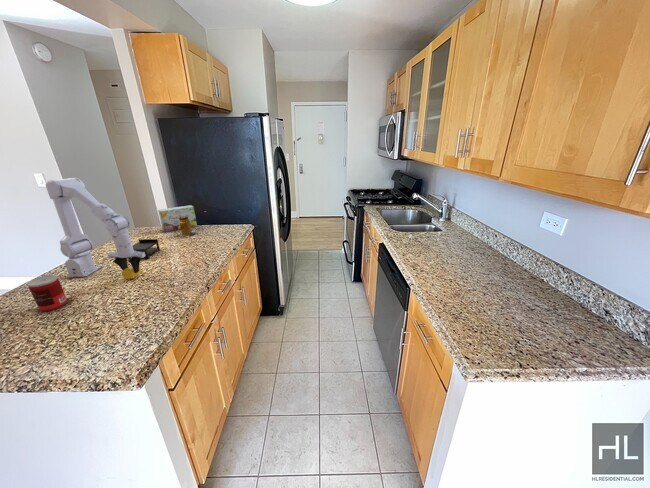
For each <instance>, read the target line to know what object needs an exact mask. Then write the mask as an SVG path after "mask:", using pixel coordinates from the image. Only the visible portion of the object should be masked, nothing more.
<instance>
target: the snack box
mask: <svg viewBox="0 0 650 488" xmlns="http://www.w3.org/2000/svg"><path fill="white" fill-rule="evenodd" d="M157 212H158V216H159V221H160V225H161V230H162V231H163V232H164V233H168V232H173V231H178V230H179V231H180V230H181V228H180V223H179V222H180V221H179V218H180V217H184V216H187V217H188V219H189V221H190V225H191V228H194V227H198V224H197V218H196V212H195V207H194V205H192V204H191V205H184V206H176V207H169V208H161V209H160V208H159V209H157Z"/></svg>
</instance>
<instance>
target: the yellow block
mask: <svg viewBox="0 0 650 488" xmlns="http://www.w3.org/2000/svg"><path fill="white" fill-rule="evenodd" d="M141 273H142V270H141V266H140V265H139V271H138V272H137V273H135V272H134V270H133V267H132V265H128V268H126V269H125V270H121V274H122V277H123V279H124V280H125V279H135V277H137V276H138V275H140V274H141Z"/></svg>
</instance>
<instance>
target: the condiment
mask: <svg viewBox="0 0 650 488" xmlns="http://www.w3.org/2000/svg"><path fill="white" fill-rule="evenodd" d="M179 221H180V222H179V223H180V228H181V229H180V232H181V234H179V236H180V237H186V238H188V237H190V236H193V235H196V234H197V232H194V231H193V230H192V227H191V225H190V221H189V219H188V217H187V216H184V217H180V218H179Z"/></svg>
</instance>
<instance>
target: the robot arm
mask: <svg viewBox="0 0 650 488" xmlns="http://www.w3.org/2000/svg"><path fill="white" fill-rule="evenodd" d="M45 188H46V192H47V194H48V196H49V199H50V200H52V201H53V204H54V207H55V210H56V213H57V215H58V219H59V221H60V224H61V227H62V230H63V232H64V236H63V237H62V238H61V240H59V245H60V252H61V254H62V255H63V256H64V257H67V258H68V259H67V260H65V263H64V266H65V268H66V271H67V273H68V275H67V278H85V277H88V276H90V275H91V274H94V272H96V271H97V270H100V269H101V268H102V266H96V264H95V262H94V259H93V257H92V254H91V253H92V251H93V248H94V244H93V241H92V240H91V239H90V236H89V235H87V234H84V233H82V231H81V228H80V225H79V221H78V219H77V216H76V213H75V209H74V206H73V203H72V202H71V200H72V199H73V198H76V199H77V200H79V201H80V202H82V203H83V204H84V205H86V206H87V207H88V208H90V209H91V213H92V215H94V216H95V217H97V218H98V219H99V220H100V221H101V222H103V223H104V228H105V229H106V230H107V231H108V233H109V235H110V236H111V238H112V240H113V243H114V244H113V245H114V246H115V250H116V252H110V253H108V254H107V257H108V259H109V260H110V259H111V260H112V259H114V260H113V263H114V264H116V265H117V266H118V267H119V268H120V270H121V271H123V270H125V269H126V268H128V267H129V264H130V266H132V267H133V270H134V272H135V273H137V272H138V271H139V266H140V264H141V259H144V258H146V257H145V252H137V251H134V250H133V243H132V239H131V236H130V233H129V229H128V228H129V227H130V220H129V219H128V218H127V216H125V215H123V214H120V213H116V212H115V211H114V210H113V209H112V208H111V207H109V206H108V205H107V204H106V203H101V202H99V201H98V200H97V199H96V198H95V197H94V196H93V195H92V194H91V193H90V192H89V190H87V189H86V185H85V183H84V182H83V181H82V180H81V179H80V178H78V177H76V176H75V177H67V178H62V179H50V180H48V181H47V182H46V183H45ZM129 258H131V259H129ZM128 262H129V264H128Z"/></svg>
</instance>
